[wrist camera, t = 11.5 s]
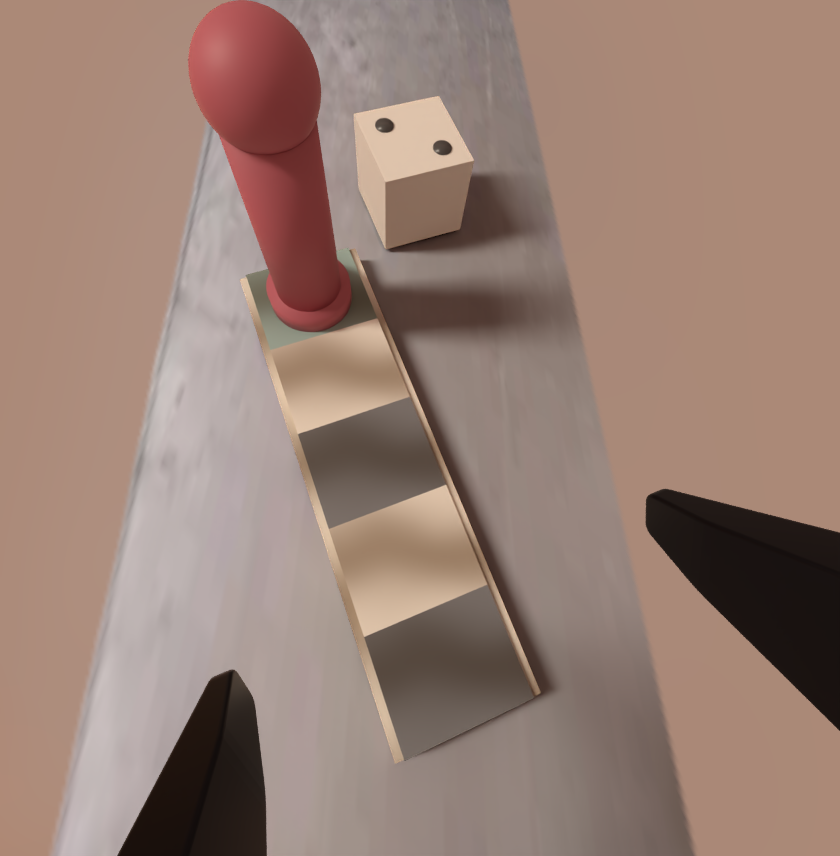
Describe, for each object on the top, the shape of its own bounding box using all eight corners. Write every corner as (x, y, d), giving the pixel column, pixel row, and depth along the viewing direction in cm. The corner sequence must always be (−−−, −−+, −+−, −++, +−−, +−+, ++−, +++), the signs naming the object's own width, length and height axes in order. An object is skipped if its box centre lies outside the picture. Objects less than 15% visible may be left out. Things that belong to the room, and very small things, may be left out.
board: (535, 689, 21) (542, 694, 20) (394, 757, 20) (395, 765, 19) (355, 257, 28) (354, 246, 27) (243, 287, 27) (238, 276, 26)
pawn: (362, 318, 26) (338, 49, 13) (284, 342, 25) (176, 79, 12) (337, 256, 27) (293, -47, 14) (262, 276, 26) (142, -25, 13)
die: (460, 229, 29) (474, 159, 25) (385, 249, 29) (385, 181, 24) (430, 170, 31) (438, 93, 26) (358, 188, 30) (353, 111, 25)
